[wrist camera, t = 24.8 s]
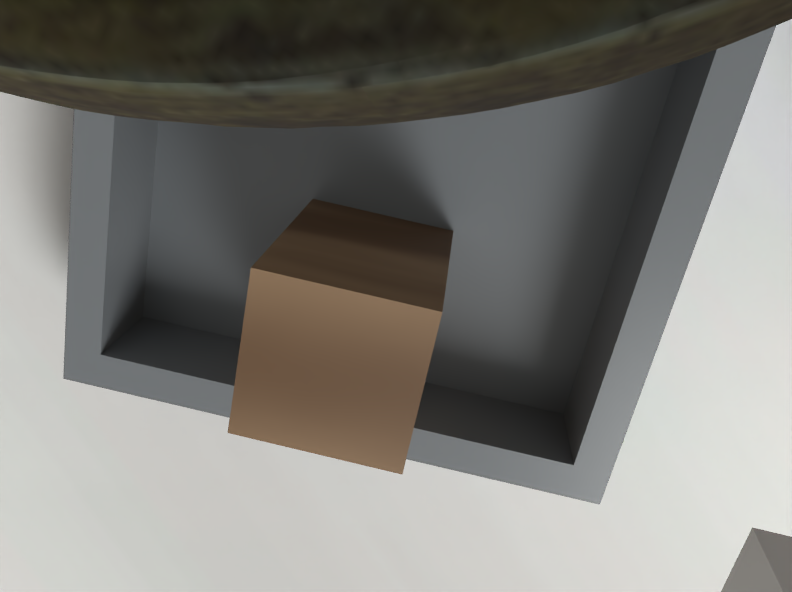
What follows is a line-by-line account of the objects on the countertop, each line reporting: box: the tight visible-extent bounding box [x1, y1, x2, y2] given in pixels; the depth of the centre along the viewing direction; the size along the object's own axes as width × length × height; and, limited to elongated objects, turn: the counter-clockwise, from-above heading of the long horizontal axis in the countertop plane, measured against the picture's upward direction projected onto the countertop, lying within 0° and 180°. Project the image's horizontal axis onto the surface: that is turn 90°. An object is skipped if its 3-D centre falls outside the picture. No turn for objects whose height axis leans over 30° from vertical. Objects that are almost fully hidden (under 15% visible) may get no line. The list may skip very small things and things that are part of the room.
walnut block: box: [228, 199, 453, 474], centre depth 19 cm, size 4×4×6 cm
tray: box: [63, 26, 776, 504], centre depth 18 cm, size 22×15×4 cm
